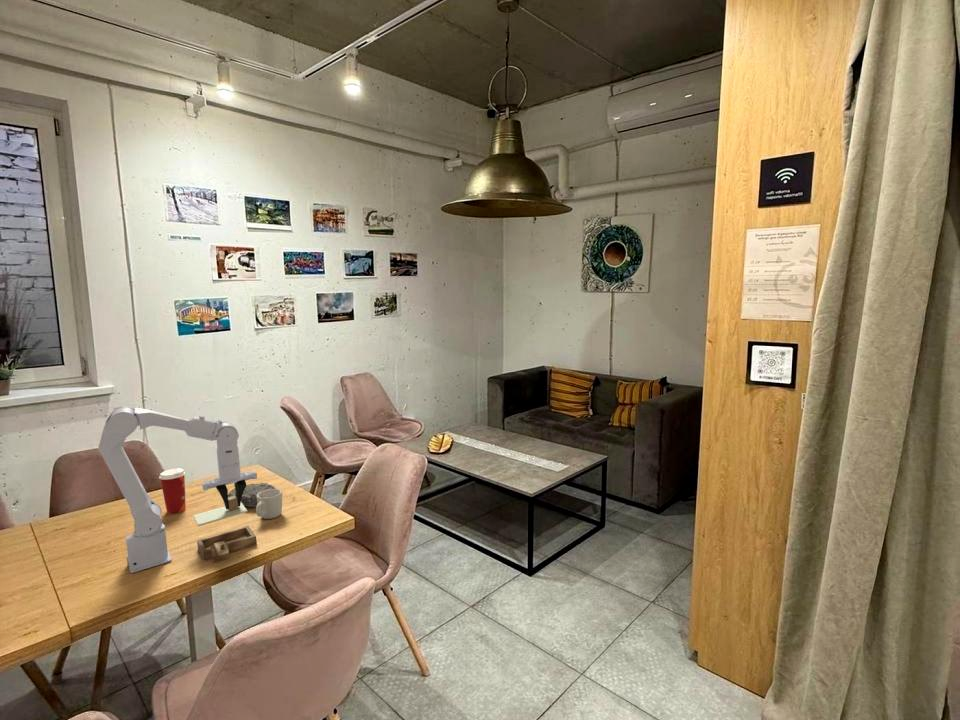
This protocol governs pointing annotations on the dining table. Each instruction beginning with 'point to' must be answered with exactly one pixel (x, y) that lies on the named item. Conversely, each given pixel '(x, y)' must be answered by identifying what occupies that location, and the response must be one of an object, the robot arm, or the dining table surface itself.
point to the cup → (269, 503)
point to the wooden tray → (232, 540)
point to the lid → (220, 512)
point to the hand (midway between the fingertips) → (232, 506)
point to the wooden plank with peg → (221, 548)
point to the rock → (251, 493)
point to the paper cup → (173, 490)
